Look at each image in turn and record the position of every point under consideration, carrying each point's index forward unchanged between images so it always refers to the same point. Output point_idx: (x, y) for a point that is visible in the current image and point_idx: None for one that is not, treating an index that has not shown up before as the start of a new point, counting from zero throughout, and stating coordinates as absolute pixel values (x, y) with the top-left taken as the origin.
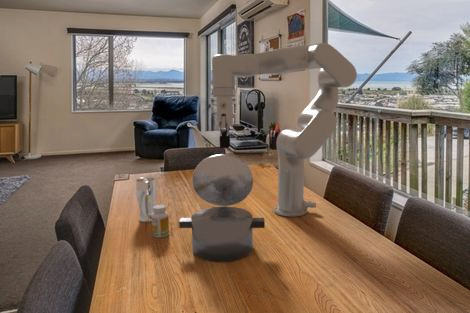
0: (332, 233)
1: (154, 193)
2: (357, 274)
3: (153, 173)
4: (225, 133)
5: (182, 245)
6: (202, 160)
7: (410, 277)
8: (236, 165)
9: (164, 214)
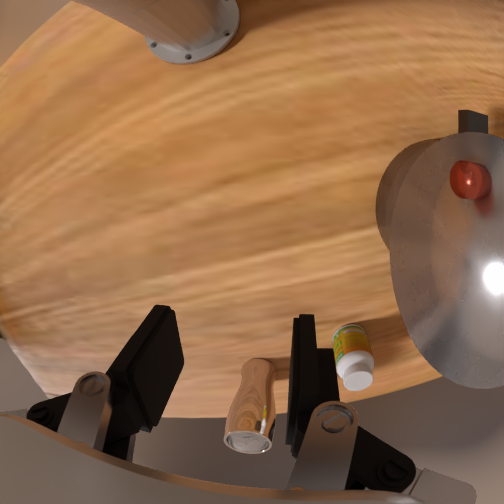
0: None
1: (259, 404)
2: (499, 6)
3: (22, 361)
4: (383, 449)
5: None
6: (501, 385)
7: None
8: None
9: (368, 359)
